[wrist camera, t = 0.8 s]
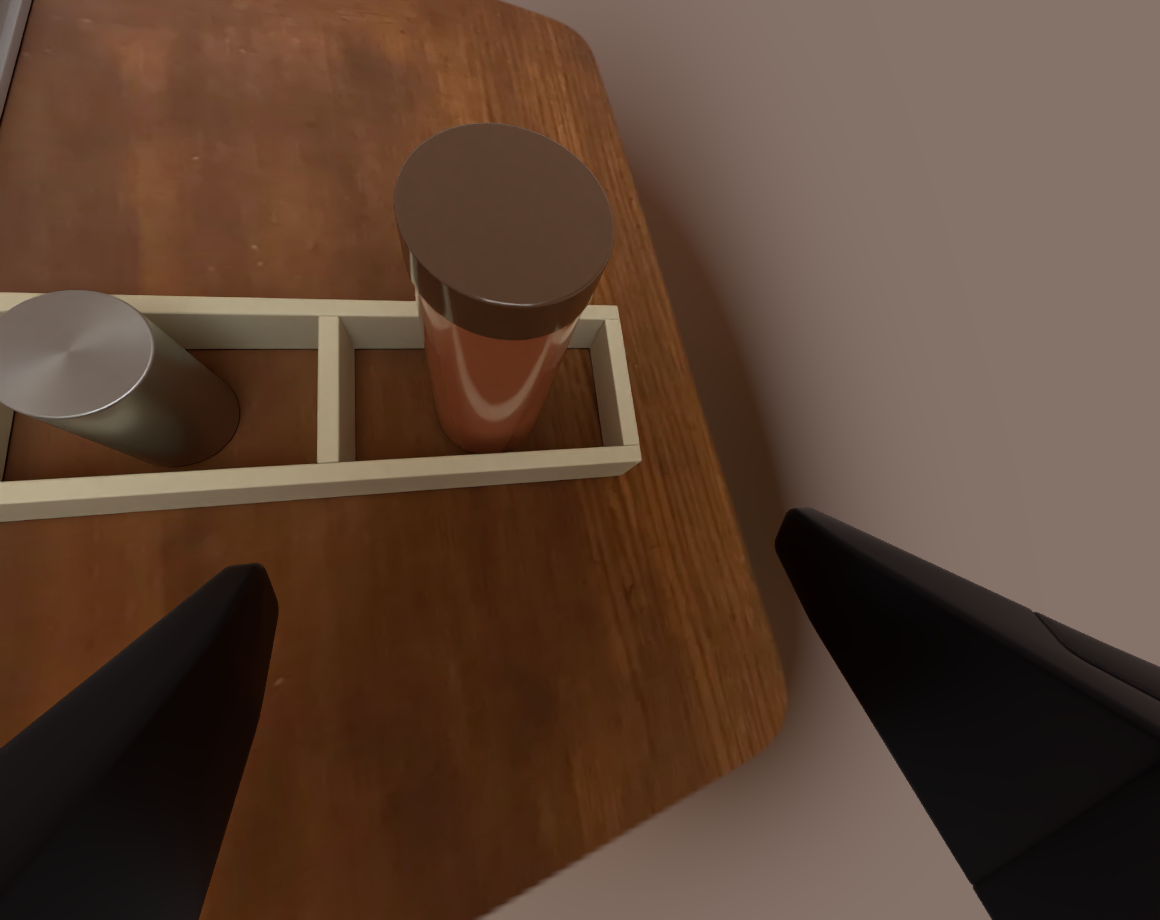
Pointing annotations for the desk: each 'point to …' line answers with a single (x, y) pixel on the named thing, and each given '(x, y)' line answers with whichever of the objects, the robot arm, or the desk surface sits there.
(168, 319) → the spice rack
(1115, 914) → the robot arm
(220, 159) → the desk surface
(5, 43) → the book
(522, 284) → the spice jar
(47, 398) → the cylinder
